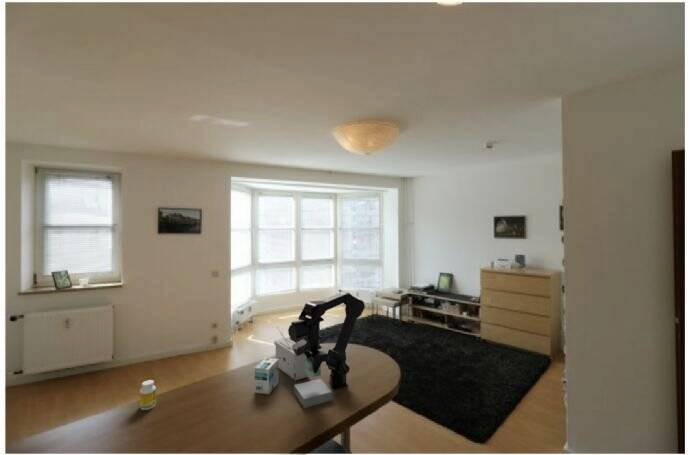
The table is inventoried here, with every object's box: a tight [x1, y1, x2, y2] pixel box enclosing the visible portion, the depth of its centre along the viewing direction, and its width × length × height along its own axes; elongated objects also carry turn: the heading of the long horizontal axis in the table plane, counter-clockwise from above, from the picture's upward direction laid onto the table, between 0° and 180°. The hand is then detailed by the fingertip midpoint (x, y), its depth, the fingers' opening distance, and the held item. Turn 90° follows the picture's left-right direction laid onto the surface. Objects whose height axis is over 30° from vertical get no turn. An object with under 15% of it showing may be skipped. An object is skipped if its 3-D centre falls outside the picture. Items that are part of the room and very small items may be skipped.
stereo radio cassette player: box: [273, 327, 308, 381], centre depth 156 cm, size 21×8×20 cm, turn 40°
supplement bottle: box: [139, 379, 157, 411], centre depth 127 cm, size 5×5×10 cm
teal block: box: [305, 358, 322, 379], centre depth 135 cm, size 5×5×6 cm
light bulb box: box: [254, 357, 279, 395], centre depth 142 cm, size 11×7×11 cm, turn 168°
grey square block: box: [293, 378, 333, 409], centre depth 135 cm, size 12×12×4 cm
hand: (312, 370), depth 135 cm, fingers closed on teal block, 5 cm apart
